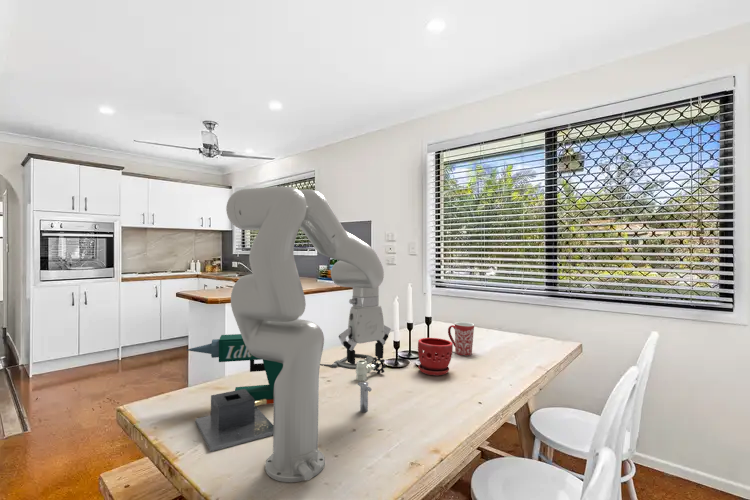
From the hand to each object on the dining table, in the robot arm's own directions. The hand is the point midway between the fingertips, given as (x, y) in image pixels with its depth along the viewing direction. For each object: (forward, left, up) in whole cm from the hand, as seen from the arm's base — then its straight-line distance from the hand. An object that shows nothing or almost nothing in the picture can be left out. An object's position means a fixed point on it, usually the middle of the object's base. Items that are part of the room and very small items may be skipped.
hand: (365, 360), depth 114 cm
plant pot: (+15, -41, -15) cm, 46 cm away
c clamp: (+43, -21, -15) cm, 50 cm away
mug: (+29, -71, -15) cm, 78 cm away
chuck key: (0, 0, -15) cm, 15 cm away
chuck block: (+9, +34, -15) cm, 38 cm away
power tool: (+25, +29, -15) cm, 41 cm away
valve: (+23, -17, -15) cm, 33 cm away
